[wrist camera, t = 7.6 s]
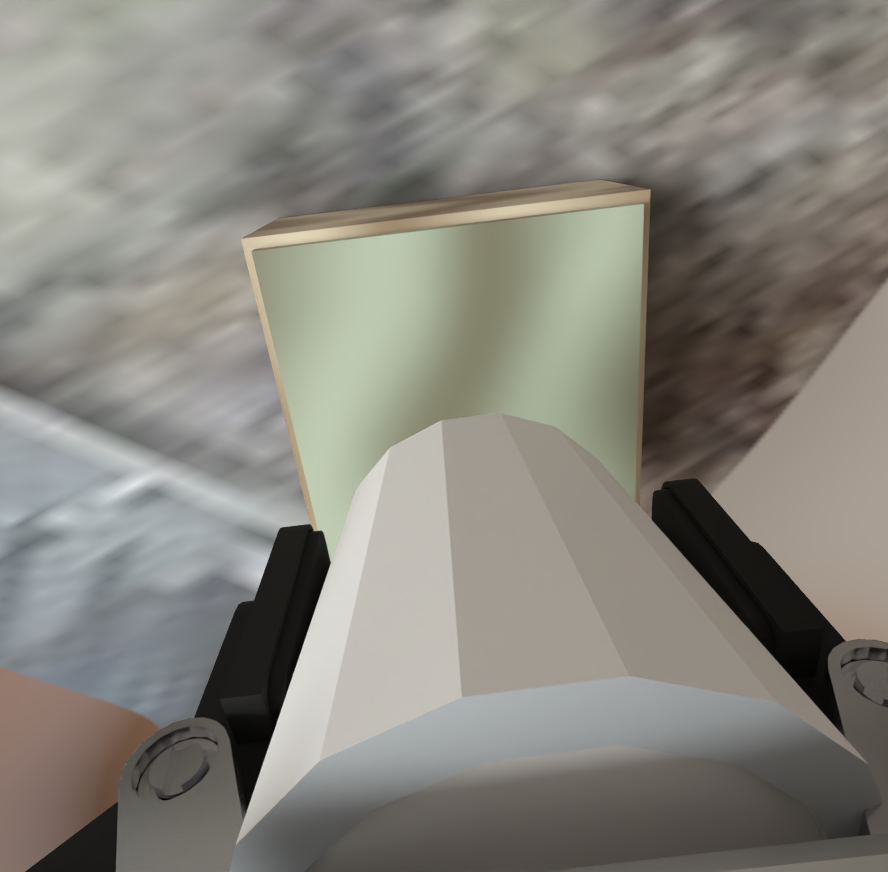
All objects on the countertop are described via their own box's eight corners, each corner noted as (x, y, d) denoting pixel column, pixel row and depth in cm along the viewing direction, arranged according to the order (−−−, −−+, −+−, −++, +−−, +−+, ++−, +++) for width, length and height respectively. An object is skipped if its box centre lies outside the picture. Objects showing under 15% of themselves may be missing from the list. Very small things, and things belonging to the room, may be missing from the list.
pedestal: (599, 179, 21) (655, 190, 16) (599, 463, 26) (643, 538, 21) (278, 218, 21) (237, 241, 16) (337, 494, 26) (319, 576, 21)
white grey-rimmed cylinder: (254, 446, 11) (63, 821, 5) (615, 331, 11) (912, 588, 4) (382, 698, 14) (363, 1138, 8) (673, 617, 14) (904, 1020, 7)
